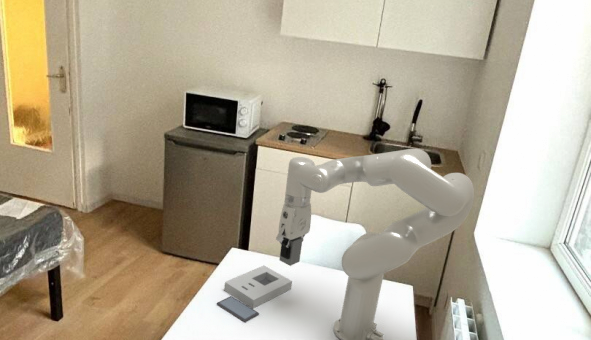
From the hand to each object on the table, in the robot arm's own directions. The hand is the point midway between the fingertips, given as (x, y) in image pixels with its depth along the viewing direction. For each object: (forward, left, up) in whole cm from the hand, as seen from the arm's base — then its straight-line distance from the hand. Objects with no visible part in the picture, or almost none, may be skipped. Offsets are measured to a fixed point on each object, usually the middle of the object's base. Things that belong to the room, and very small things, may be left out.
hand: (290, 254), depth 147 cm
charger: (0, 0, -2) cm, 2 cm away
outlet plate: (+10, +1, -17) cm, 20 cm away
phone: (+6, +14, -17) cm, 23 cm away
